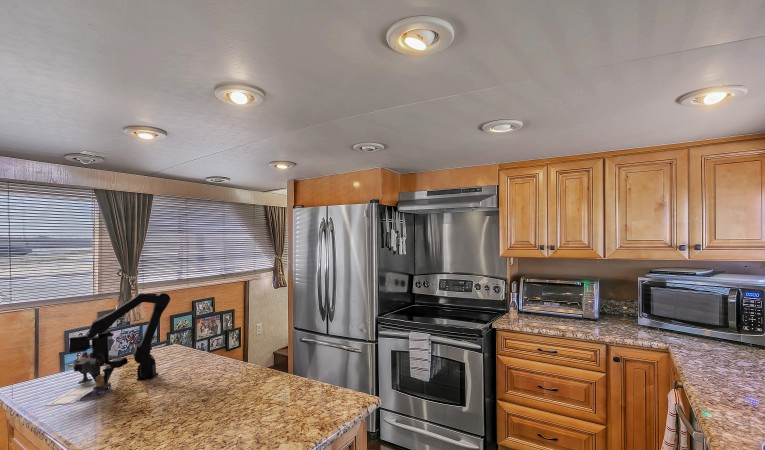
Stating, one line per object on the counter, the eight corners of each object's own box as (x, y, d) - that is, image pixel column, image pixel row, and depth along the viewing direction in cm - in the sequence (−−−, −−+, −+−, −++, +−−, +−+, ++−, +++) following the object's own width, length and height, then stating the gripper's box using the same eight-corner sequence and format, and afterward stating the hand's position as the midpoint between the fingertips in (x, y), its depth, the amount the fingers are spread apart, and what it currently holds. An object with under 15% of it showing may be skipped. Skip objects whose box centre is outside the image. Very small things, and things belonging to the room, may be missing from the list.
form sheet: (99, 386, 160) (99, 385, 160) (72, 403, 144) (72, 402, 144) (75, 388, 159) (75, 387, 159) (45, 405, 143) (45, 405, 143)
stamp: (110, 386, 160) (110, 372, 160) (104, 390, 156) (103, 376, 156) (100, 386, 160) (99, 373, 160) (93, 391, 155) (92, 377, 155)
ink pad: (111, 390, 155) (111, 387, 155) (98, 398, 147) (98, 395, 147) (93, 391, 155) (93, 389, 155) (80, 400, 147) (80, 397, 147)
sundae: (84, 384, 163) (82, 351, 163) (72, 384, 165) (70, 351, 165) (98, 378, 170) (97, 346, 170) (86, 378, 171) (85, 346, 171)
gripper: (63, 356, 149) (64, 394, 149) (111, 352, 151) (113, 389, 151) (82, 347, 160) (84, 383, 160) (127, 344, 162) (129, 379, 162)
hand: (102, 383), depth 158 cm, fingers closed on stamp, 3 cm apart
